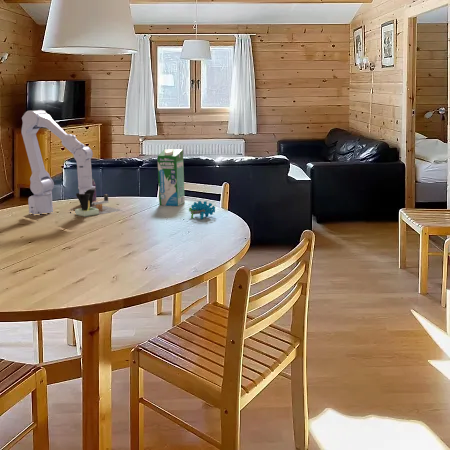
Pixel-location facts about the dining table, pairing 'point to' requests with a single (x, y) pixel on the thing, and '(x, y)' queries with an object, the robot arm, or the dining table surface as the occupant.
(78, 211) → the tray
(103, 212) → the base plate
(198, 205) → the gear
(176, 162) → the milk carton
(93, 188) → the beverage can
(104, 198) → the crank
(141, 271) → the dining table surface
